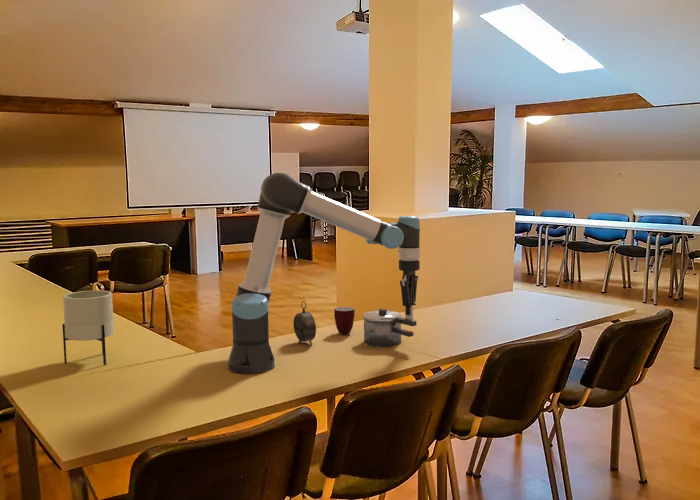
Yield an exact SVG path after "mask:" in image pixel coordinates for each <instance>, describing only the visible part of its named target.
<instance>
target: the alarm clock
mask: <svg viewBox="0 0 700 500" xmlns="http://www.w3.org/2000/svg"><path fill="white" fill-rule="evenodd" d="M303 303H304V305H305V306H304V308H303ZM300 306H301V309H302V311H300V312H297V313H296V314H295V315H294V318H293V331H294V333H295V336H296V337H297V339H298V343H297V344H298V345H299V344H300V342H303V343H305V342H309V344H310V346H312V347H313V343H312V341H313V340H314V339H315V337H316V335H317V325H316V321H315V319H314V316H313V315H312V313H311V312H310V311H307V310H306V309H307V304H306V301H304V300H303V301H301V304H300ZM305 310H306V311H305Z"/></svg>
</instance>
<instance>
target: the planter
mask: <svg viewBox="0 0 700 500" xmlns="http://www.w3.org/2000/svg"><path fill="white" fill-rule="evenodd" d="M62 302H63V304H62V305H63V321H64V323H62V340H63V357H64V358H63V359H64V361H63V362H64V364H65V365H66V364H67V363H68V362H67V361H68V360H67V346H66V345H67V344H66V341H79V342H80V341H82V342H84V341H94V340H96V341H99V342H101V350H102V351H101V352H102V360H103V366H106V365H107V357H106V356H107V355H106V351H107V350H106V338H108V337H111V336H112V335H113V334H114V333H115V327H114V325H115V324H114V305H113V303H114V302H113V292H111V291H109V290H97V289H95V290H83V291H75V292H70V293H65V294H64V295H63V296H62Z"/></svg>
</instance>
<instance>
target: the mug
mask: <svg viewBox="0 0 700 500" xmlns="http://www.w3.org/2000/svg"><path fill="white" fill-rule="evenodd" d="M333 311H334V312H333V315H334V316H333V317H334V321H335V327H336V330H337V331H338V333H339V335H342V336H343V335H346V336H347V335H350V334H351V332H352V330H353V327H354V320H355V308H354V307H351V306H339V307H335V308H334V310H333Z"/></svg>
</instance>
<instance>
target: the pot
mask: <svg viewBox="0 0 700 500" xmlns="http://www.w3.org/2000/svg"><path fill="white" fill-rule="evenodd" d="M402 336H405V337H407V338H410V337H414V331H412V330H407V329H403V328H402V324H400V323H396V322H371V321H367V320H365V319H364V318H363V343H364V344H365V345H367V346H370V347H375V348H376V347H378V348H388V347H389V348H390V347H396V346H399V345H401V344H402Z"/></svg>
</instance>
